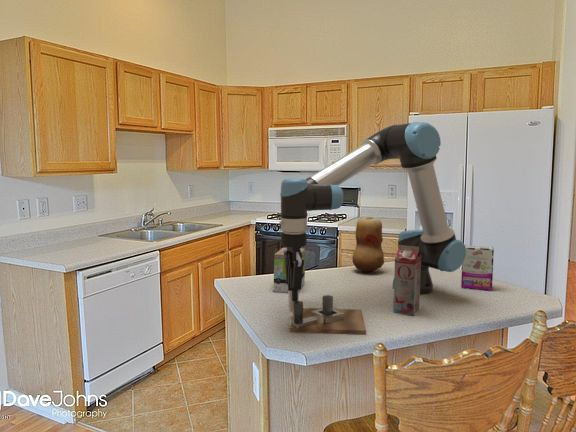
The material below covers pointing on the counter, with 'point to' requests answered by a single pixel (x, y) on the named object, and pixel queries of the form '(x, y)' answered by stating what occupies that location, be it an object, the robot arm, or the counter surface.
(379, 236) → the butternut squash
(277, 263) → the tea box
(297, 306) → the square frame with handle
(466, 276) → the candy bar box
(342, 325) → the board
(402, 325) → the counter surface
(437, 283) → the counter surface
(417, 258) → the juice carton
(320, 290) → the counter surface
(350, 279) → the counter surface
